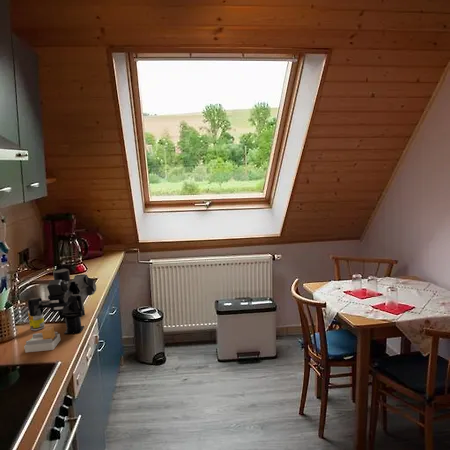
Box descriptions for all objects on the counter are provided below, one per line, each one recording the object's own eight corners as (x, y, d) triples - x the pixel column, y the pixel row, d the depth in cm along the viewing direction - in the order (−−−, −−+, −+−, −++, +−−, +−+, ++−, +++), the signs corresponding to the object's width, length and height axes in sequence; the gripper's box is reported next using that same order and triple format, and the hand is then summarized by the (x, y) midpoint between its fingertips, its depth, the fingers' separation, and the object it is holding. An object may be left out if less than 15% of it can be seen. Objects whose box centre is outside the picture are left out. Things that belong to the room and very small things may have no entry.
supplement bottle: (30, 327, 185) (27, 304, 184) (44, 324, 188) (41, 301, 186) (30, 332, 180) (26, 308, 179) (44, 329, 182) (41, 305, 181)
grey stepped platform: (34, 342, 169) (32, 333, 168) (60, 339, 169) (59, 330, 169) (25, 352, 160) (23, 342, 159) (53, 349, 161) (51, 340, 160)
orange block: (47, 337, 166) (45, 326, 166) (55, 336, 166) (53, 326, 166) (43, 341, 162) (41, 331, 162) (51, 340, 163) (50, 330, 162)
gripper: (33, 280, 164) (17, 292, 149) (84, 275, 165) (73, 287, 150) (37, 308, 166) (21, 324, 150) (88, 304, 167) (77, 318, 151)
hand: (48, 312), depth 150 cm, fingers open, 9 cm apart
